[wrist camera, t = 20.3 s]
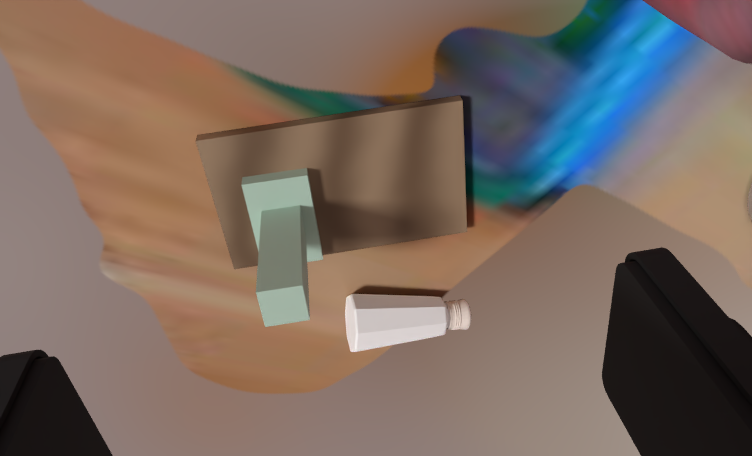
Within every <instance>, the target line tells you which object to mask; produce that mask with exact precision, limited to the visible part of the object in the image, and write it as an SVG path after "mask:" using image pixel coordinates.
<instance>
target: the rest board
mask: <svg viewBox="0 0 752 456" xmlns="http://www.w3.org/2000/svg"><path fill="white" fill-rule="evenodd" d="M196 144H197V147H198V151H199V154H200V157H201V161H202V164H203V167H204V171H205V174H206V177H207V181H208V184H209V187H210V190H211V194H212V197H213V200H214V204H215V207H216V210H217V214H218V217H219V220H220V224H221V227H222V230H223V233H224V237H225V240H226V243H227V247H228V250H229V253H230V257H231V260H232V263H233V267H234V269H239V268H245V267H252V266H258V254H259V252H258V248H257V244H256V240H255V236H254V232H253V228H252V224H251V221H250V217H249V213H248V209H247V205H246V201H245V197H244V193H243V189H242V185H241V184H242V177H248V176H255V175H262V174H269V173H276V172H283V171H289V170H296V169H303V168H307V171H308V176H309V182H310V187H311V193H312V198H313V204H314V209H315V214H316V220H317V225H318V231H319V236H320V242H321V247H322V254H323V255H326V254H333V253H339V252H345V251H351V250H357V249H364V248H370V247H376V246H382V245H389V244H395V243H401V242H407V241H414V240H420V239H426V238H432V237H438V236H445V235H451V234H457V233H463V232H467V213H466V184H465V155H464V125H463V100H462V99H461V97H460V95H459V96H452V97H446V98H439V99H433V100H426V101H420V102H413V103H406V104H400V105H393V106H387V107H380V108H374V109H367V110H360V111H354V112H347V113H341V114H334V115H327V116H321V117H314V118H308V119H301V120H295V121H288V122H281V123H275V124H268V125H262V126H255V127H249V128H242V129H235V130H229V131H222V132H216V133H209V134H203V135H197V138H196Z"/></svg>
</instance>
